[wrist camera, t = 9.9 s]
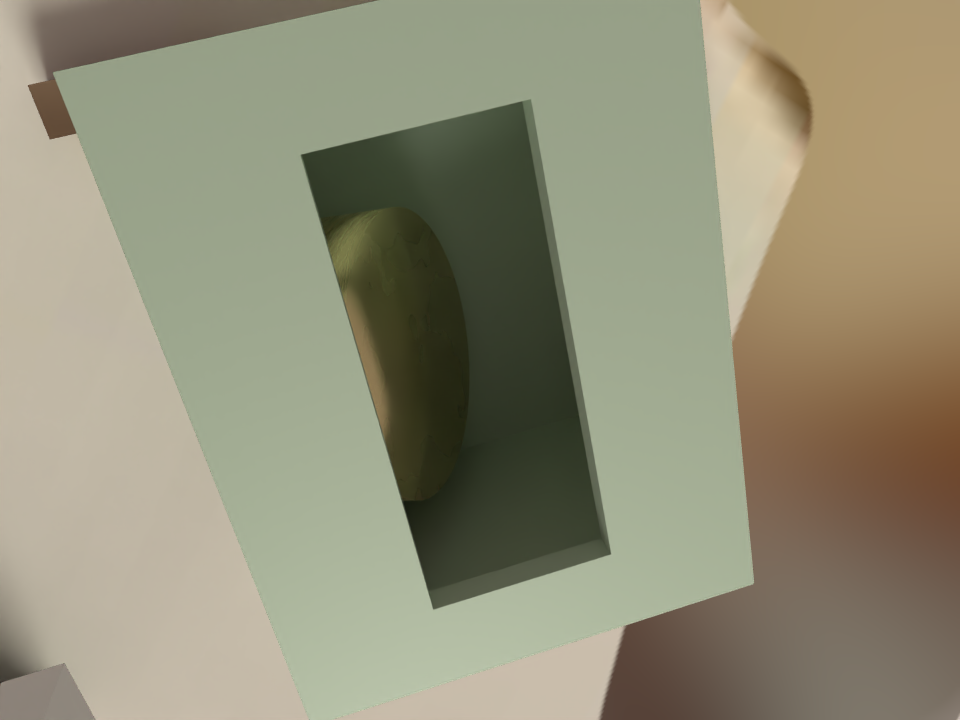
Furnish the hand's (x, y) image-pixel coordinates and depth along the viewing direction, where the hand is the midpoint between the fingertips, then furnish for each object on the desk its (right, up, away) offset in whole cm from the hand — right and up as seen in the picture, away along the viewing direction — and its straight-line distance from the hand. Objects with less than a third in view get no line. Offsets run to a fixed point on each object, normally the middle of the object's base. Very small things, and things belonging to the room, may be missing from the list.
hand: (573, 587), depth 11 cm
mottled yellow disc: (-3, +4, +18) cm, 19 cm away
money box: (-4, +7, +19) cm, 20 cm away
